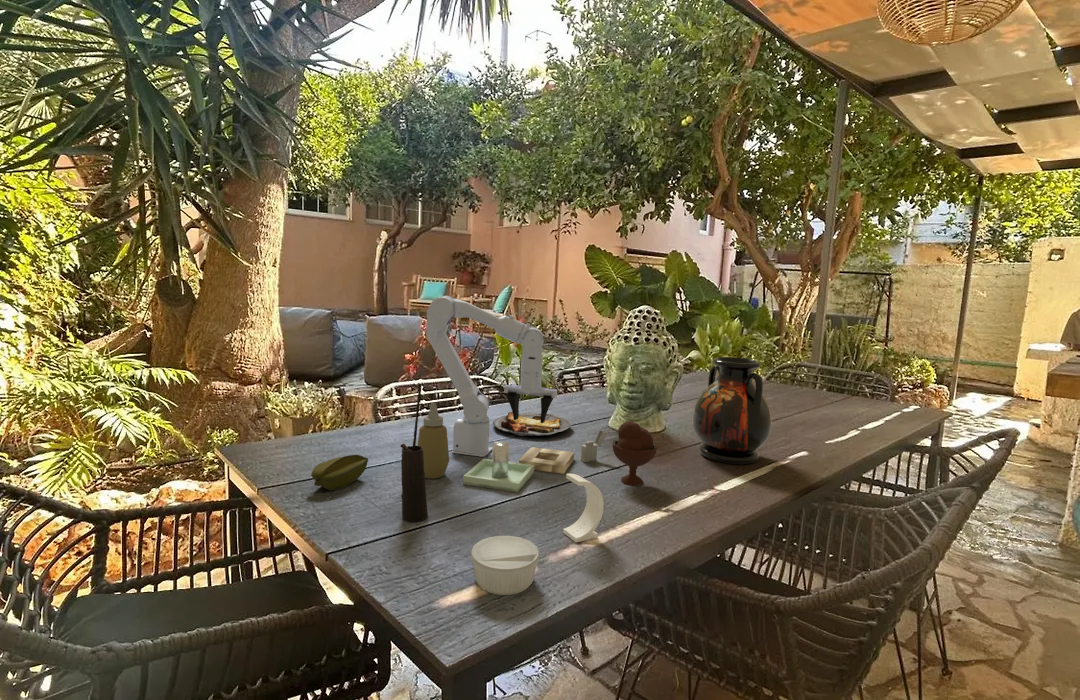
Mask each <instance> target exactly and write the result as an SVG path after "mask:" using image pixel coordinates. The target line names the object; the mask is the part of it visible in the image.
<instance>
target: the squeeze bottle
mask: <svg viewBox="0 0 1080 700" xmlns="http://www.w3.org/2000/svg"><path fill="white" fill-rule="evenodd" d="M417 446H421V447H422V448H423V455H424V457H423V458H424V472H425V479H431V480H432V479H439V478H441V477H444V476H445V475H446V472H447V468H448V465H449V463H450V452H449V441H448V429H447V427H446V426H445V425H444V417H443V416H440V415H439V411H438V406H437V403H436V402H431V403H430V407H429V411H428V415H427V416H424V417H423V425H422V426H420V427H419V430H418V438H417Z"/></svg>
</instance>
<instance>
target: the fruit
mask: <svg viewBox="0 0 1080 700" xmlns="http://www.w3.org/2000/svg"><path fill="white" fill-rule="evenodd" d="M368 462H369V458H368V457H365V456H363V455H360V454H352V455H351V454H349V455H344V456H340V457H339V456H338V457H335V458H332V459H331V458H330V459H329V460H326V461H323V462H321V463H319V464H317V465H316V466H315V467H314V468H313V470H311V475H310V476H311V477H312V478H313V479H314V486H318V487H322V488H324V489H326V490H328V491H336V490H340V489H342V488H346V487H347V486H350V485H351V484H352V483H353V482H356V480H358V479H359V478H360V477H361V476H362V474H363V473H364V472H365V471H366V467H367V465H368Z"/></svg>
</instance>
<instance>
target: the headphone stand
mask: <svg viewBox="0 0 1080 700" xmlns="http://www.w3.org/2000/svg"><path fill="white" fill-rule="evenodd" d="M565 478H566V480H568V481H570V482H572V483H573V484H575V485H576V486H578V487H584V490H585V492H586V493H585V494H586V503H585V508H584V510H583V511H582V513H581V515H580V517H579V518H578V519H577V520H576V521H575V522H574V523H572V524H571V525H570V526H568V527H564V528H563V531H562V533H563V534H564V535H565V536H567V537H568V538H569V539H571V540H572V541H573V542H575V543H579V542H584V541H590V540H594V539H598V536H599V533H598V532H596V531H595V530H596V529H597V527H598V526H599V524H600V522H601V519H602V517H603V513H604V507H605V504H604V496H603V494H602V492H601V491H600V489H599V487H598V486H597V485H595V484H593V482H591V481H589V480H587V479H586V478H584V477H582V476H580V475H578V474H575V473H566V474H565Z"/></svg>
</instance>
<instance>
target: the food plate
mask: <svg viewBox="0 0 1080 700" xmlns="http://www.w3.org/2000/svg"><path fill="white" fill-rule="evenodd" d="M492 424H493V427H494V428H496V429H497V430H501V431H502V432H508V433H511V434H514V435H516V436H520V437H527V436H528V437H532V436H533V437H534V436H536V437H537V436H538V437H539V436H550V435H553V434H556V433H559V432H564V431H566V430H568V429H570V427H571V426H572V425H573V423H572V422H571V420H569V419H567V418H565V417H563V416H558V415H553V414H550V413H549V414H548V413H547V414H546V418H545V422H544V423H541V413H529V412H528V413H519V416H518V419H517V420H514V417H513V412H512V411H509V412H508V413H507V414H506V415H502V416H500V417H498V418H496V419H494V420H493V421H492Z"/></svg>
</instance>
